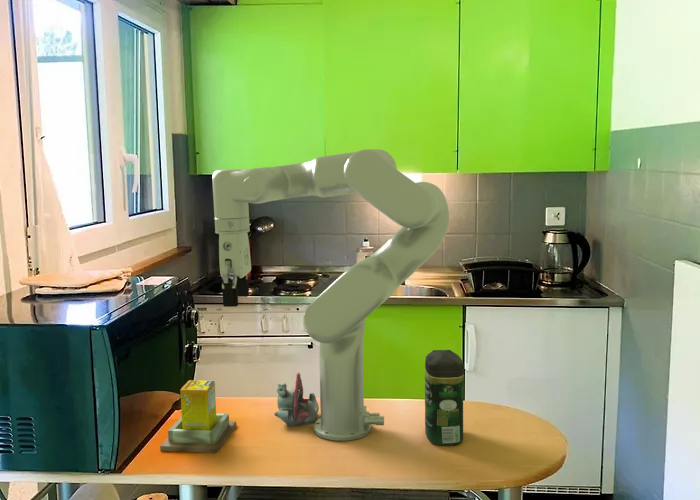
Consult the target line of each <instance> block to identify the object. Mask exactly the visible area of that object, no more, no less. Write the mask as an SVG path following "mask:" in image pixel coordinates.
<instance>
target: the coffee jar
mask: <svg viewBox="0 0 700 500" xmlns="http://www.w3.org/2000/svg"><path fill="white" fill-rule="evenodd" d="M464 365H465V364H464V361H463V359H462V358H461V356H460V355H459V354H457V353H456V352H454V351H452V350H451V349H434V350H432V351H430V352H429V353H427V355H426V356H425V363H424V421H425V422H424V427H425V428H424V431H425V432H424V433H425V436H426V438H427V440H428V441H429V442H430V443H431V444H434V445H440V446H444V447H445V446H449V447H450V446H453V445H457V444H458V445H459V444H461V443H462V442H463V440H464V381H465V380H464V378H465V377H464V376H465V375H464V374H465V367H464Z"/></svg>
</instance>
